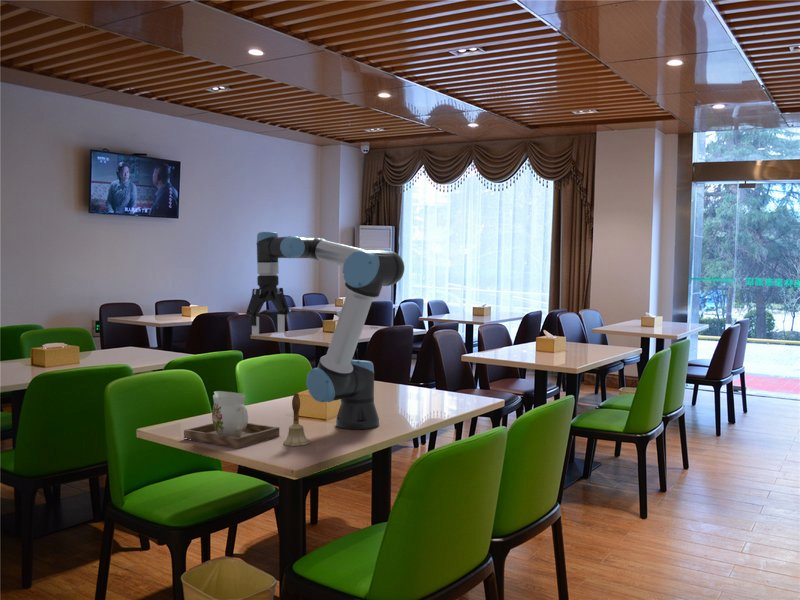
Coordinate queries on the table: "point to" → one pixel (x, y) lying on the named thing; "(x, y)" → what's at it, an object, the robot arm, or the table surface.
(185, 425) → the table surface
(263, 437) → the tray
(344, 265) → the robot arm
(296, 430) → the hand bell
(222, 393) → the pitcher
